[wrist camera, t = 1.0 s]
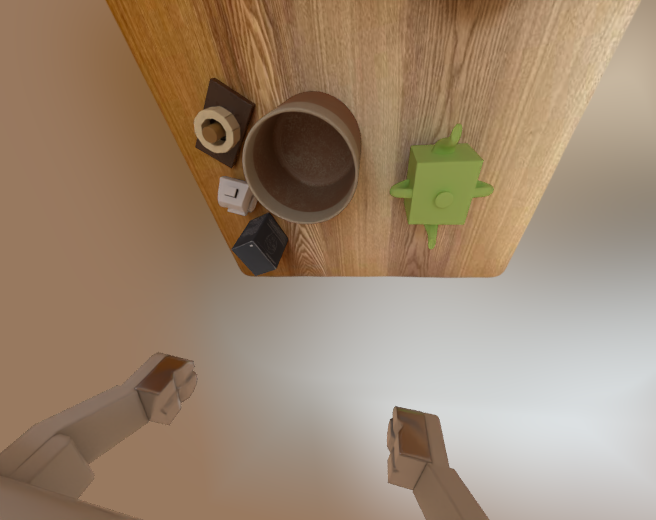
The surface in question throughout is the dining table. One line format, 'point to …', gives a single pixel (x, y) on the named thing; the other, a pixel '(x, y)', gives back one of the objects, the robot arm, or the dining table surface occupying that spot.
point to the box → (261, 244)
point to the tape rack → (215, 131)
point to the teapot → (441, 183)
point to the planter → (304, 158)
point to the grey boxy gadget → (236, 196)
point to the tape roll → (227, 123)
